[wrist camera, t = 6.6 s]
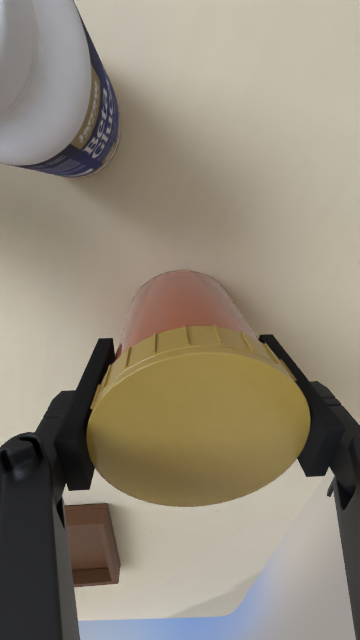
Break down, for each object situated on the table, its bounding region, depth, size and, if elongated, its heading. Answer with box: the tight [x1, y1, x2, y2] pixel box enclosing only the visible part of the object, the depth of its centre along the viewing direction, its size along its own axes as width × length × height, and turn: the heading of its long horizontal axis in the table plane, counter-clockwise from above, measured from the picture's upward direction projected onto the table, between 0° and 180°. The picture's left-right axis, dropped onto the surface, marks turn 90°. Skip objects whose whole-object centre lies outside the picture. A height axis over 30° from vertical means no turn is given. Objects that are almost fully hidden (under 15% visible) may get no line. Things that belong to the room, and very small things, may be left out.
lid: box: [86, 325, 311, 507], centre depth 10 cm, size 9×9×2 cm
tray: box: [64, 504, 120, 587], centre depth 31 cm, size 18×16×2 cm
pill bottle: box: [0, 0, 120, 178], centre depth 8 cm, size 5×5×10 cm
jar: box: [113, 270, 259, 363], centre depth 14 cm, size 8×8×10 cm
